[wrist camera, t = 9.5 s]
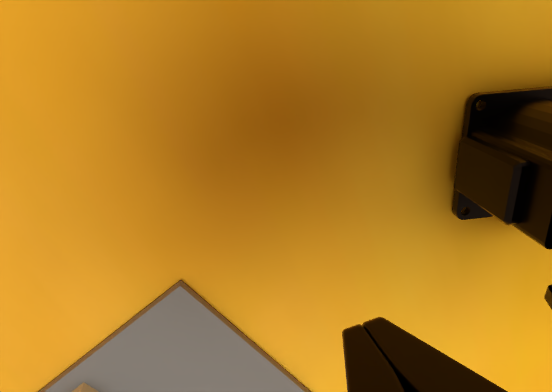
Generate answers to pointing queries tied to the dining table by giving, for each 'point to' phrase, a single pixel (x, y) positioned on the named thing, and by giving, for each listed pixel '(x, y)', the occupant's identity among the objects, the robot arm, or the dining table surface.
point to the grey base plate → (176, 354)
